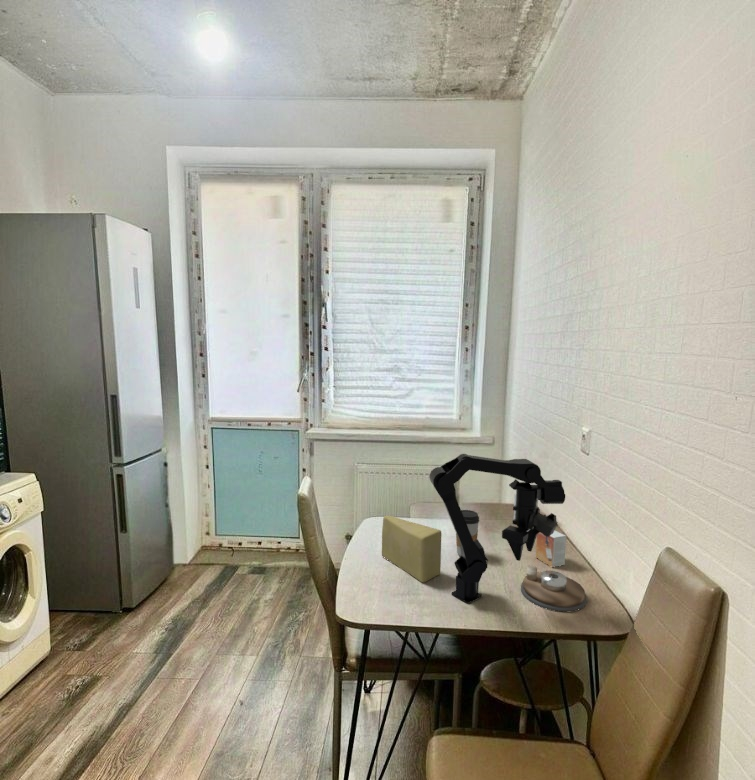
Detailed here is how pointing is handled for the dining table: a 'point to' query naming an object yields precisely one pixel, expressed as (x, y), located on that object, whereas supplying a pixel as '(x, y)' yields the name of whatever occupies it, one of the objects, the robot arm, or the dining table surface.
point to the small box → (551, 548)
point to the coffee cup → (469, 526)
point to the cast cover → (553, 581)
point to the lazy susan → (560, 599)
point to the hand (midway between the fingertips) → (524, 555)
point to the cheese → (412, 547)
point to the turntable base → (550, 605)
